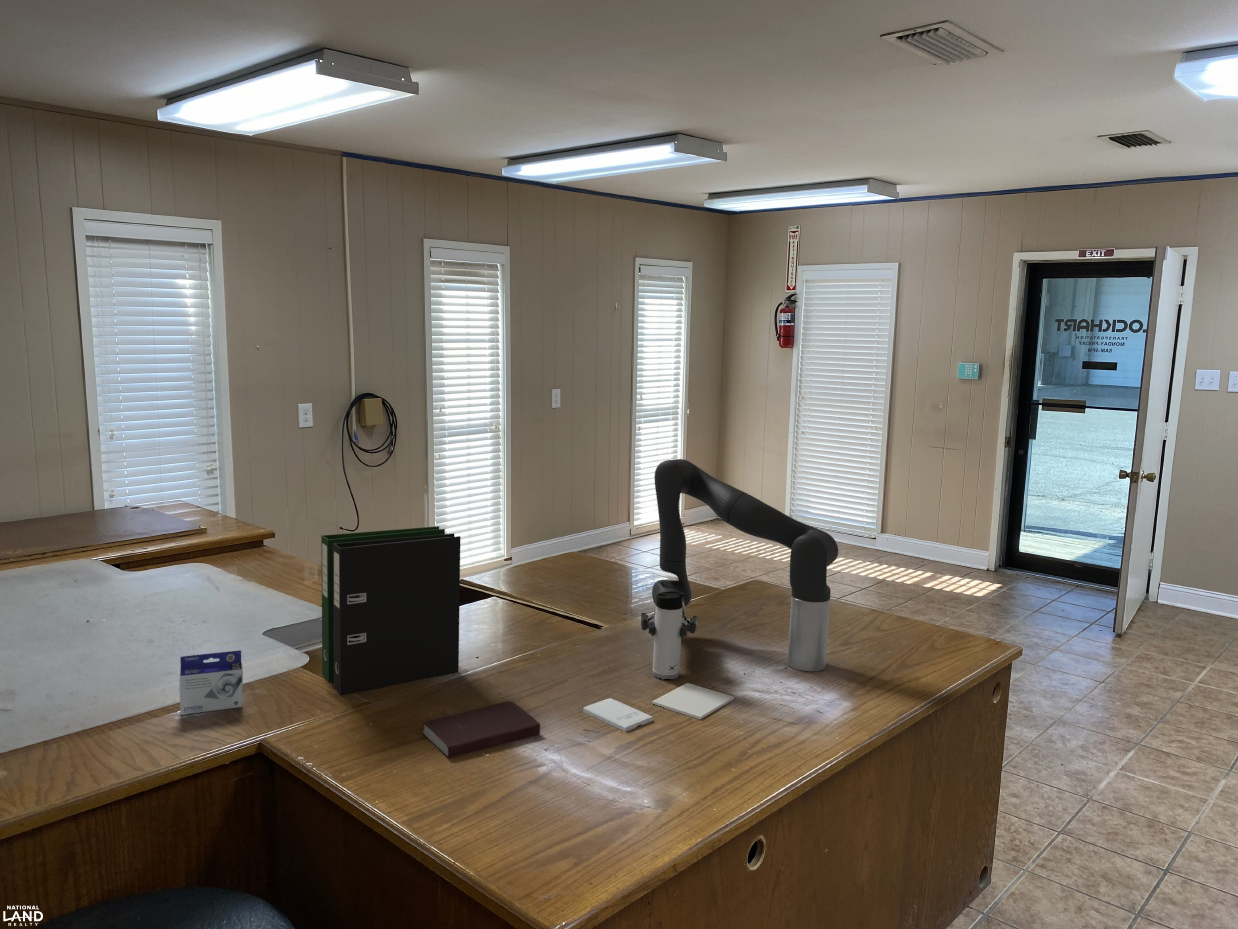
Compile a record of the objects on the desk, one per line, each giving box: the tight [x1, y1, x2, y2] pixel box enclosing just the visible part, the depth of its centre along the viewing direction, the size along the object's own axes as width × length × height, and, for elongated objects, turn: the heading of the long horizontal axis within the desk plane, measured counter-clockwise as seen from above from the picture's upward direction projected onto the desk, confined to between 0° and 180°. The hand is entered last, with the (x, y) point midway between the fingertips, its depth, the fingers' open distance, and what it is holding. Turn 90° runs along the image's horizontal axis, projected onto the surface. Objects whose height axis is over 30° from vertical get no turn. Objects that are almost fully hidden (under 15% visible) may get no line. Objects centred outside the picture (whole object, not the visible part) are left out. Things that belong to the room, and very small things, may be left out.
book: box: [421, 700, 541, 759], centre depth 165 cm, size 12×19×3 cm, turn 125°
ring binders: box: [320, 525, 462, 697], centre depth 192 cm, size 27×15×32 cm, turn 124°
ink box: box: [179, 649, 244, 716], centre depth 171 cm, size 12×2×12 cm, turn 117°
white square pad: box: [651, 682, 734, 720], centre depth 185 cm, size 14×12×1 cm
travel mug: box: [651, 591, 685, 680], centre depth 198 cm, size 6×7×20 cm
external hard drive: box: [582, 697, 654, 732], centre depth 176 cm, size 2×8×12 cm
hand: (667, 632), depth 196 cm, fingers closed on travel mug, 6 cm apart
